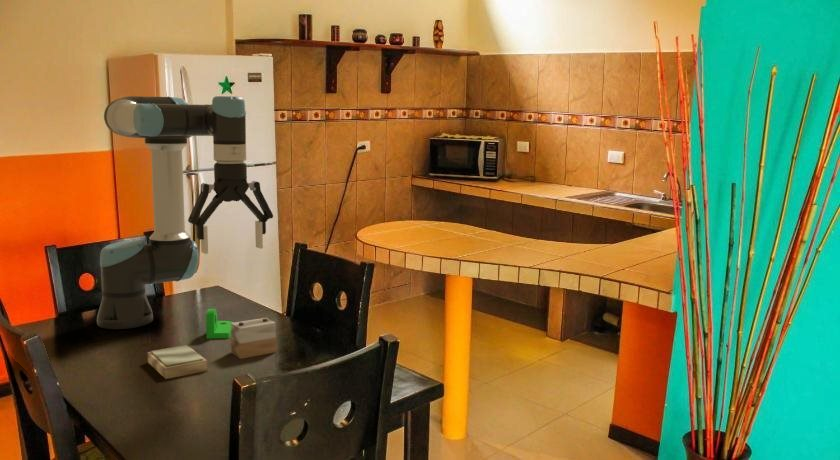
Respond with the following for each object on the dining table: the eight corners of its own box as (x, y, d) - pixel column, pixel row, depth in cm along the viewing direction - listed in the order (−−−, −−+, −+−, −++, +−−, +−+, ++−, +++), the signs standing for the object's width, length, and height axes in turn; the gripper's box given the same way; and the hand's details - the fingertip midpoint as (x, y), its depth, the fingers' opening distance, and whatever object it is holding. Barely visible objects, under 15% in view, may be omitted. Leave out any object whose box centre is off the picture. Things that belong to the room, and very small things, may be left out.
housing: (231, 352, 192) (230, 321, 191) (266, 346, 198) (266, 315, 197) (240, 359, 188) (239, 326, 186) (276, 352, 193) (276, 320, 192)
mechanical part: (229, 339, 204) (228, 311, 202) (206, 340, 203) (205, 312, 202) (235, 327, 215) (234, 300, 214) (214, 327, 215) (213, 300, 214)
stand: (147, 362, 184) (147, 350, 183) (187, 355, 190) (187, 343, 189) (165, 379, 173) (165, 366, 172) (207, 370, 179) (207, 358, 178)
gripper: (182, 164, 166) (185, 257, 169) (285, 161, 180) (286, 247, 183) (172, 162, 172) (175, 252, 175) (273, 160, 186) (274, 243, 189)
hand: (232, 250), depth 179 cm, fingers open, 13 cm apart
